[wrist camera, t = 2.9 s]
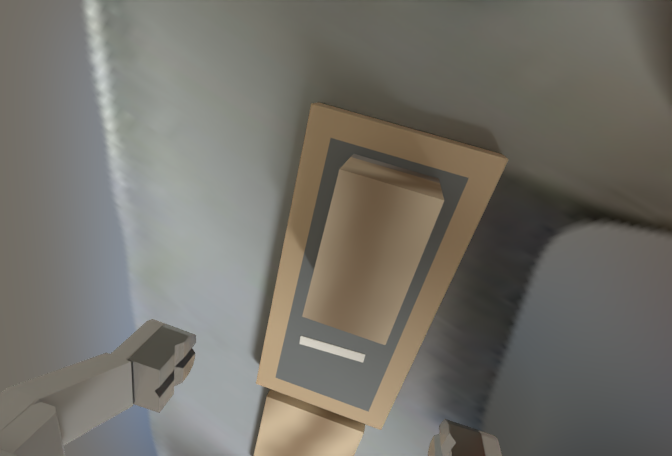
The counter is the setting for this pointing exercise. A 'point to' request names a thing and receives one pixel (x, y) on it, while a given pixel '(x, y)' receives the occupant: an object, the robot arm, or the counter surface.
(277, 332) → the chalkboard
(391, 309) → the block
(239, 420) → the counter surface
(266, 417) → the pad
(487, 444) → the robot arm
